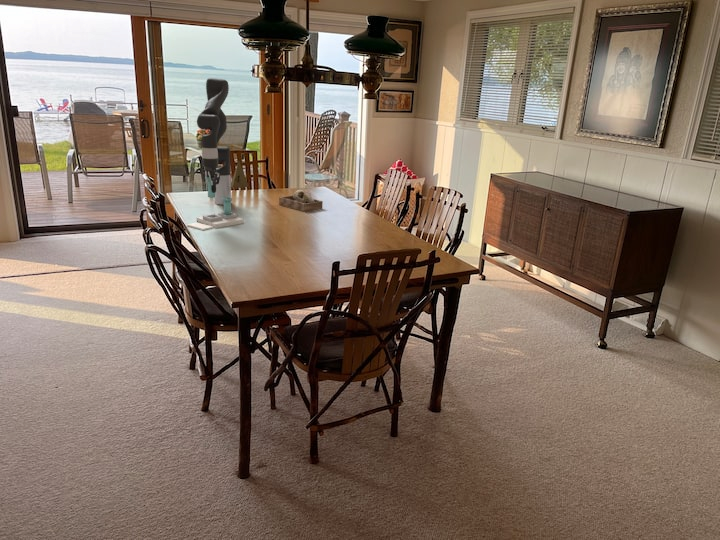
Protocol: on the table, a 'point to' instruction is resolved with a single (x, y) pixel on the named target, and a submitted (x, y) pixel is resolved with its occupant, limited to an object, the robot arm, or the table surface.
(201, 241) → the table surface
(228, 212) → the teal flared handle
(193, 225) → the lid
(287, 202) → the brown wooden tray
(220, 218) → the housing
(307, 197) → the animal skull replica
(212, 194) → the teal round-knobbed peg
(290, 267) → the table surface
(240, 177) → the pyramid
